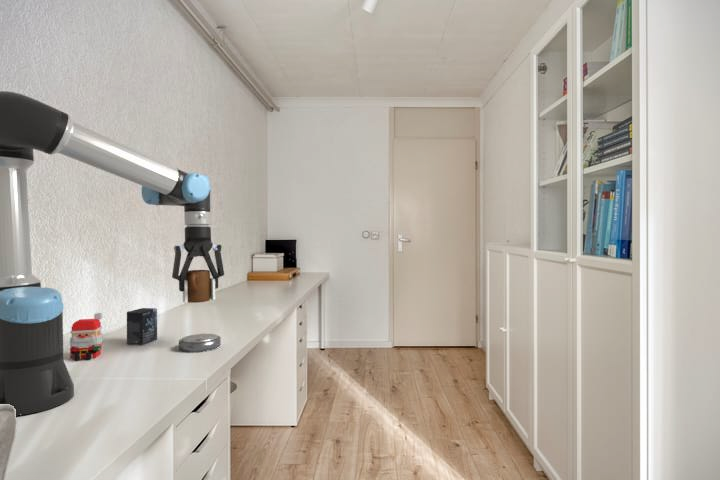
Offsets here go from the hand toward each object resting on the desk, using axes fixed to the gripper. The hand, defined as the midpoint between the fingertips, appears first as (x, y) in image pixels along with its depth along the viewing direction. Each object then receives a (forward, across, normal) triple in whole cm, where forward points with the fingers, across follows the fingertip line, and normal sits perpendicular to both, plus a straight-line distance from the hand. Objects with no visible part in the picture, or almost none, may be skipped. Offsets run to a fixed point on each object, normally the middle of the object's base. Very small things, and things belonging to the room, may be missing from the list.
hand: (199, 300), depth 135 cm
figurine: (+15, -29, +9) cm, 34 cm away
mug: (+1, -1, 0) cm, 1 cm away
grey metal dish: (+14, 0, 0) cm, 14 cm away
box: (+15, -13, +19) cm, 27 cm away
